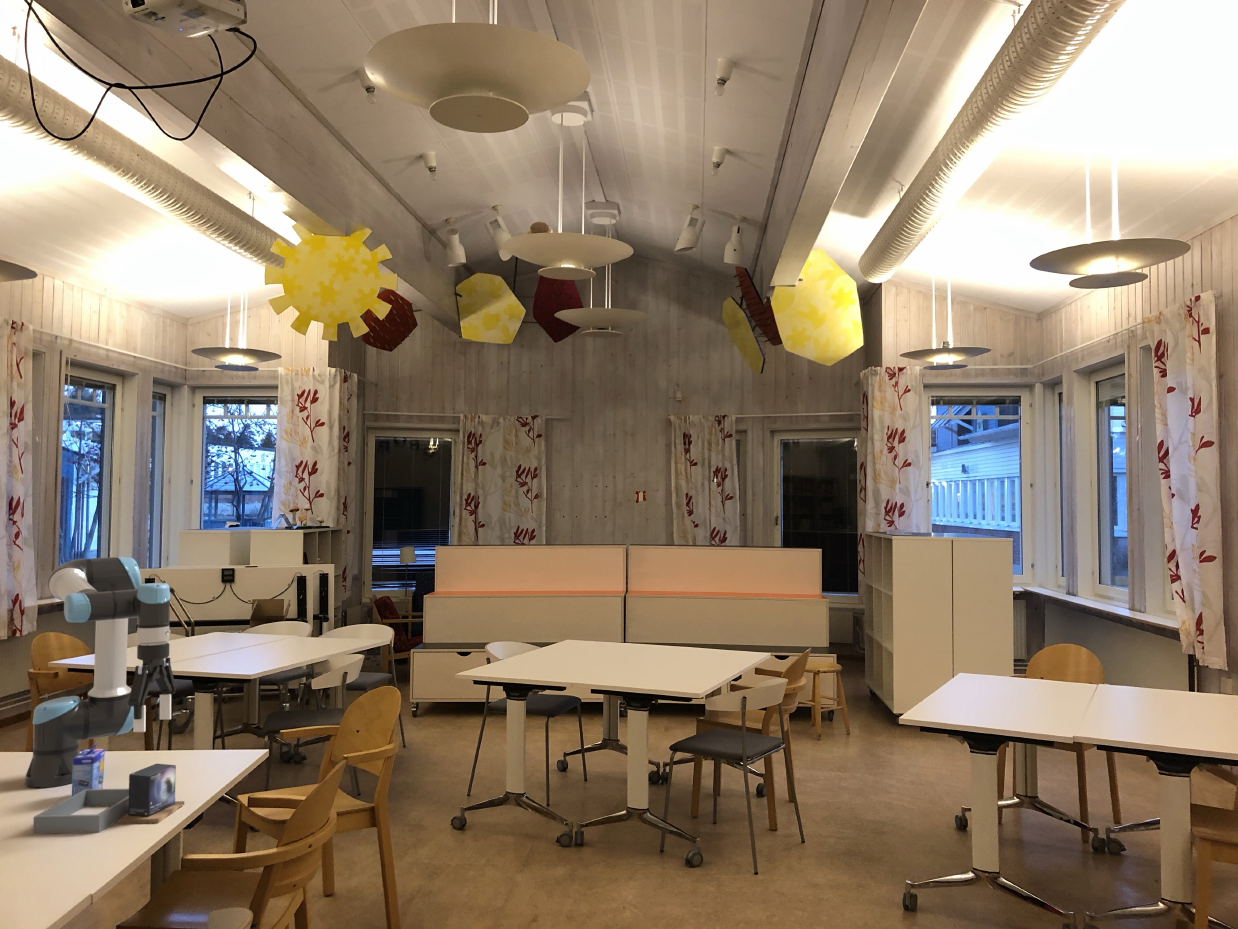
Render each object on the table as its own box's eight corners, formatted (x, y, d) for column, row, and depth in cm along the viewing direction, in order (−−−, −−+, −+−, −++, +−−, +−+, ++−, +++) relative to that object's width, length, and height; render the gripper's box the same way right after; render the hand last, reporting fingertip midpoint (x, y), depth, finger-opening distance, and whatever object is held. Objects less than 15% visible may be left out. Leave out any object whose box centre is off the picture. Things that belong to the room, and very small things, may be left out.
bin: (84, 804, 247) (84, 789, 247) (144, 803, 247) (144, 788, 247) (33, 833, 225) (33, 816, 225) (99, 832, 225) (99, 815, 225)
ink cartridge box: (93, 802, 249) (94, 748, 249) (70, 804, 247) (71, 749, 248) (104, 791, 258) (105, 739, 259) (83, 793, 257) (83, 740, 258)
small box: (149, 817, 232) (149, 775, 233) (126, 816, 234) (127, 774, 234) (177, 804, 243) (177, 763, 243) (155, 803, 244) (155, 763, 245)
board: (146, 805, 245) (146, 801, 245) (184, 805, 245) (184, 801, 245) (118, 823, 231) (118, 819, 231) (158, 823, 231) (158, 819, 231)
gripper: (143, 650, 228) (142, 737, 227) (189, 636, 253) (189, 714, 252) (113, 650, 228) (112, 737, 227) (162, 636, 253) (161, 714, 252)
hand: (152, 725), depth 239 cm, fingers open, 13 cm apart
